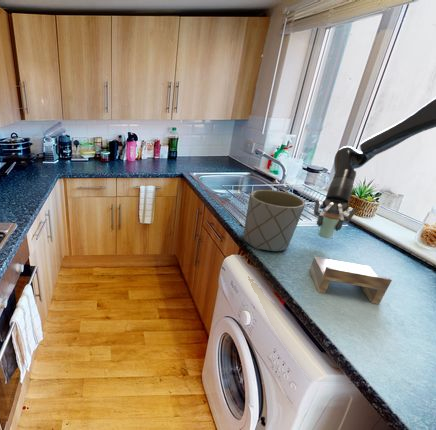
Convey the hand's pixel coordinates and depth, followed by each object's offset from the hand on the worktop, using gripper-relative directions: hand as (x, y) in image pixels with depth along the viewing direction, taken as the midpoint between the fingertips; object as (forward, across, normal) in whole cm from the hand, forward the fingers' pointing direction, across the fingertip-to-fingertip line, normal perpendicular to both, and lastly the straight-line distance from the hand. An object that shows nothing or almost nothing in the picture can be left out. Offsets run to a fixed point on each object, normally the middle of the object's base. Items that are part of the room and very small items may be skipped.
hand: (328, 227), depth 112 cm
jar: (+2, 0, +4) cm, 5 cm away
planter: (+14, -19, -1) cm, 23 cm away
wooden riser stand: (+24, +8, -11) cm, 28 cm away
